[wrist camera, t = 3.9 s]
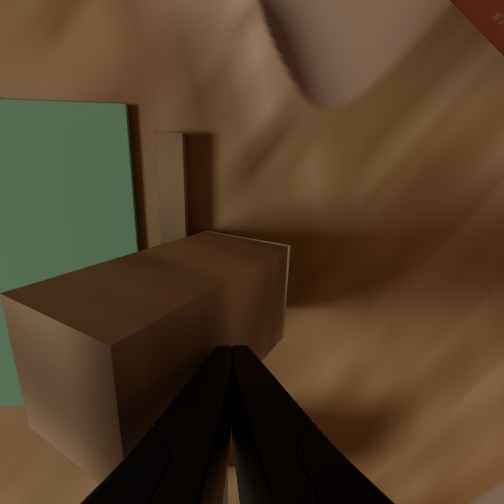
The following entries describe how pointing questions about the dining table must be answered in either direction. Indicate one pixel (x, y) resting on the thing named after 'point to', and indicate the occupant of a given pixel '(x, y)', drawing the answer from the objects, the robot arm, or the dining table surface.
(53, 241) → the felt mat
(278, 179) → the dining table surface
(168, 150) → the batten
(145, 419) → the walnut block
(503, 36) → the carton
